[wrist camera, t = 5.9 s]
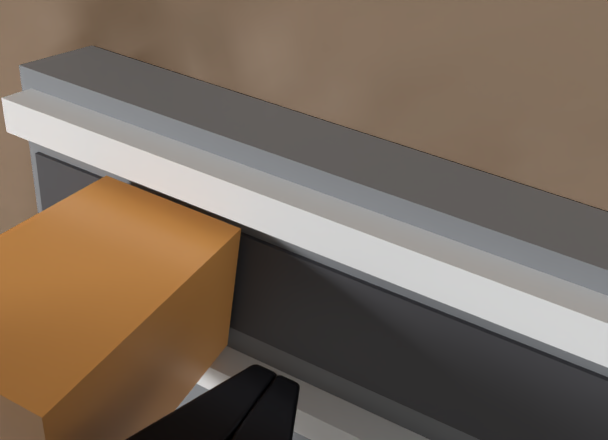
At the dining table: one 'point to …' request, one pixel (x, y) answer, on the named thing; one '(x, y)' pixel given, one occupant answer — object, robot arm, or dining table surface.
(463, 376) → the panel
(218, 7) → the dining table surface
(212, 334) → the slider knob
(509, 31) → the dining table surface
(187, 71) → the dining table surface
